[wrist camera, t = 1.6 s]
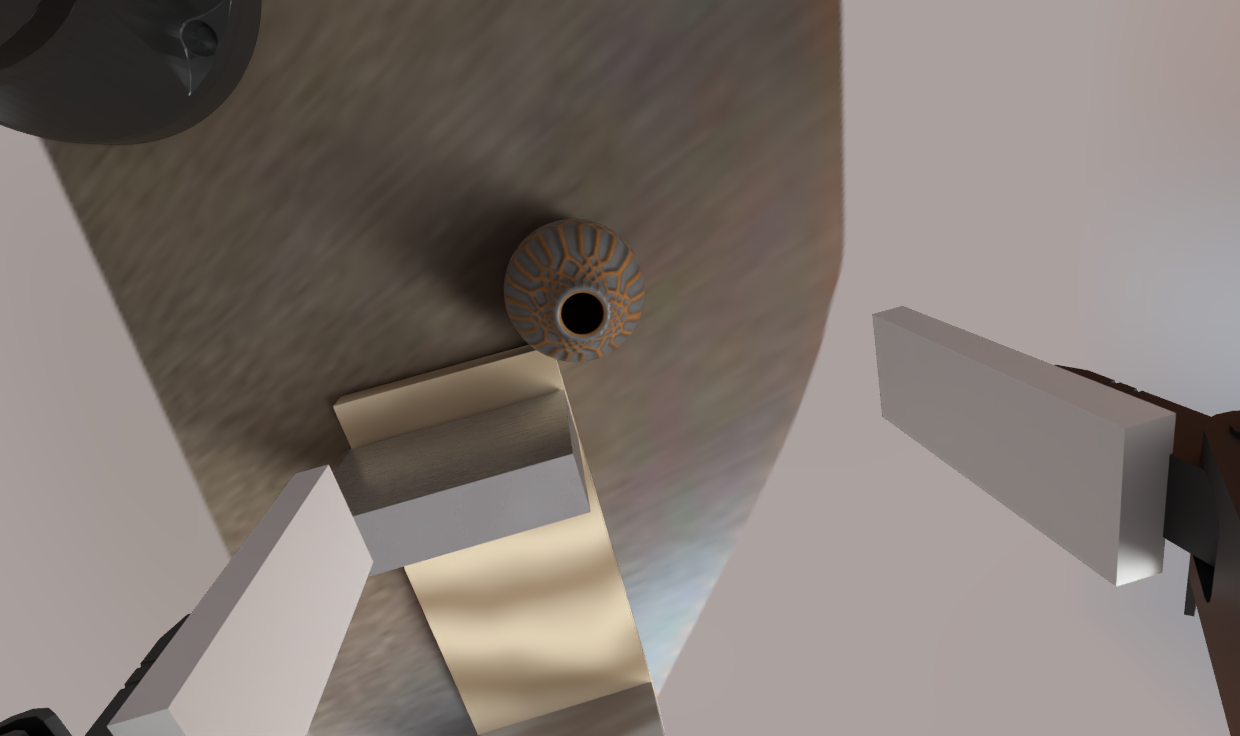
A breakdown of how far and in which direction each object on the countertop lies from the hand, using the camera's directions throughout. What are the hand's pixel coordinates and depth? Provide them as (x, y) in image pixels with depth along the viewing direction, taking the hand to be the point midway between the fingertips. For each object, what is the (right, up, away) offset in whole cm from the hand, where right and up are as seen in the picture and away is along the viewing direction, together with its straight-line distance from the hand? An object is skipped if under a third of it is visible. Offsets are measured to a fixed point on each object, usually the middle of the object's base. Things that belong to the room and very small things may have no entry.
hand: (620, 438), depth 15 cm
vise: (-6, -11, +25) cm, 28 cm away
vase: (-3, +7, +20) cm, 21 cm away
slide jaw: (-8, -2, +20) cm, 21 cm away
